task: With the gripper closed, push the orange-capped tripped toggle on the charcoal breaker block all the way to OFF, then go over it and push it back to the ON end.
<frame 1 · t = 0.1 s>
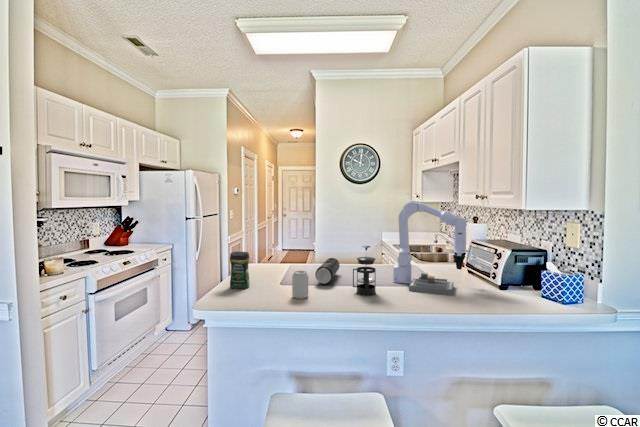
hand: (459, 267, 180), 10 cm above the countertop, tool pointing down, fingers open, 7 cm apart
can: (300, 297, 164), on the countertop
coffee jar: (240, 287, 181), on the countertop
french press: (365, 293, 171), on the countertop
breaker toggle: (431, 280, 175), point 5 cm above the countertop, slide at 0.0 cm
breaker block: (431, 288, 178), on the countertop
dark thermos flask: (328, 280, 196), on the countertop
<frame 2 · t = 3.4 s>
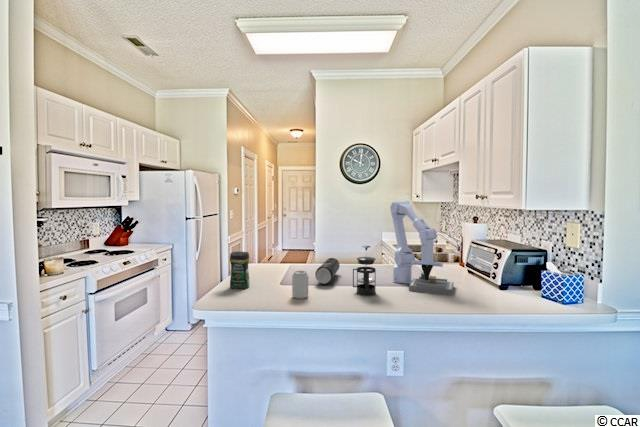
hand: (427, 280, 175), 5 cm above the countertop, tool pointing down, fingers closed
breaker toggle: (432, 280, 174), point 5 cm above the countertop, slide at 0.7 cm, touching gripper
everything else where it was.
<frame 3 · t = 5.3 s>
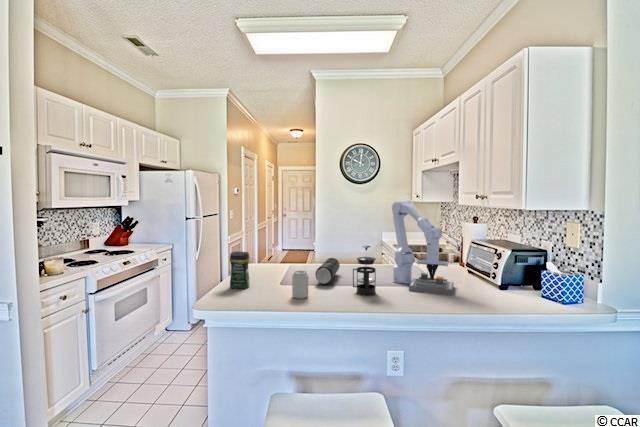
hand: (432, 279, 175), 6 cm above the countertop, tool pointing down, fingers closed
breaker toggle: (439, 281, 173), point 5 cm above the countertop, slide at 4.1 cm
everything else where it was.
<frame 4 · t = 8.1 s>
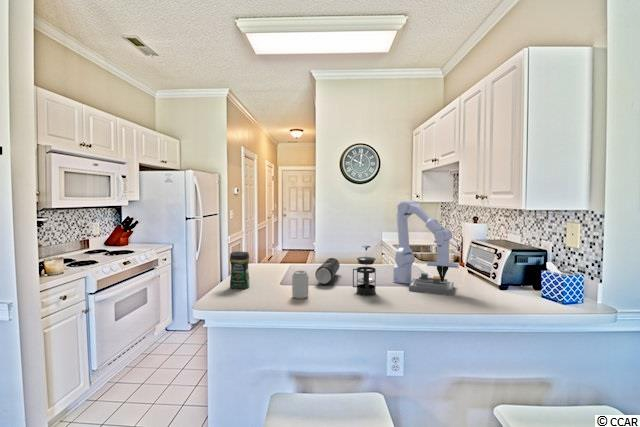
hand: (442, 281, 173), 5 cm above the countertop, tool pointing down, fingers closed
breaker toggle: (436, 281, 174), point 5 cm above the countertop, slide at 2.5 cm, touching gripper
everything else where it was.
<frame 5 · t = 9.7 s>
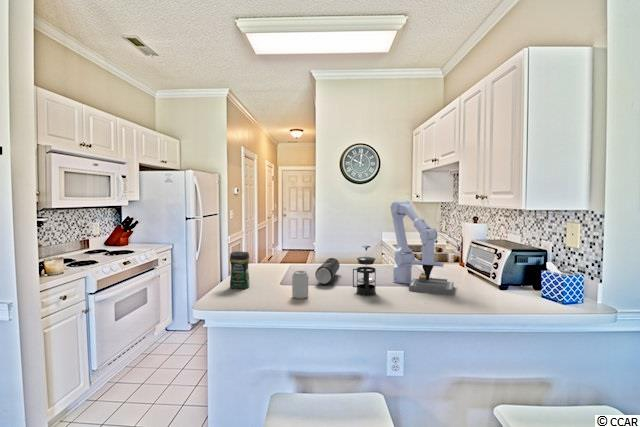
hand: (427, 280, 175), 5 cm above the countertop, tool pointing down, fingers closed
breaker toggle: (422, 280, 176), point 5 cm above the countertop, slide at -4.1 cm, touching gripper
everything else where it was.
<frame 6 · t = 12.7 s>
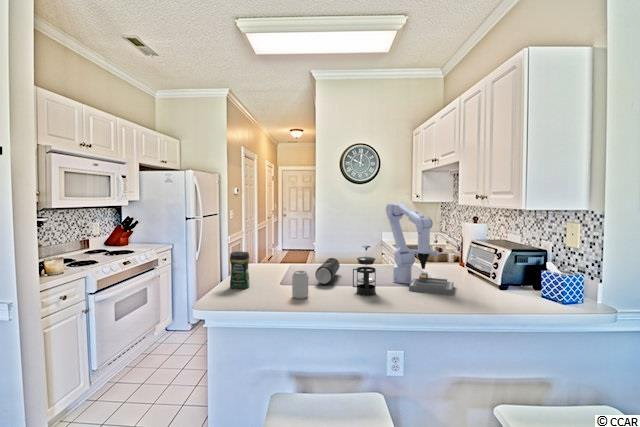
hand: (423, 268, 177), 10 cm above the countertop, tool pointing down, fingers closed
breaker toggle: (422, 280, 176), point 5 cm above the countertop, slide at -4.1 cm
everything else where it was.
at the end: breaker toggle slide at -4.1 cm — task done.
